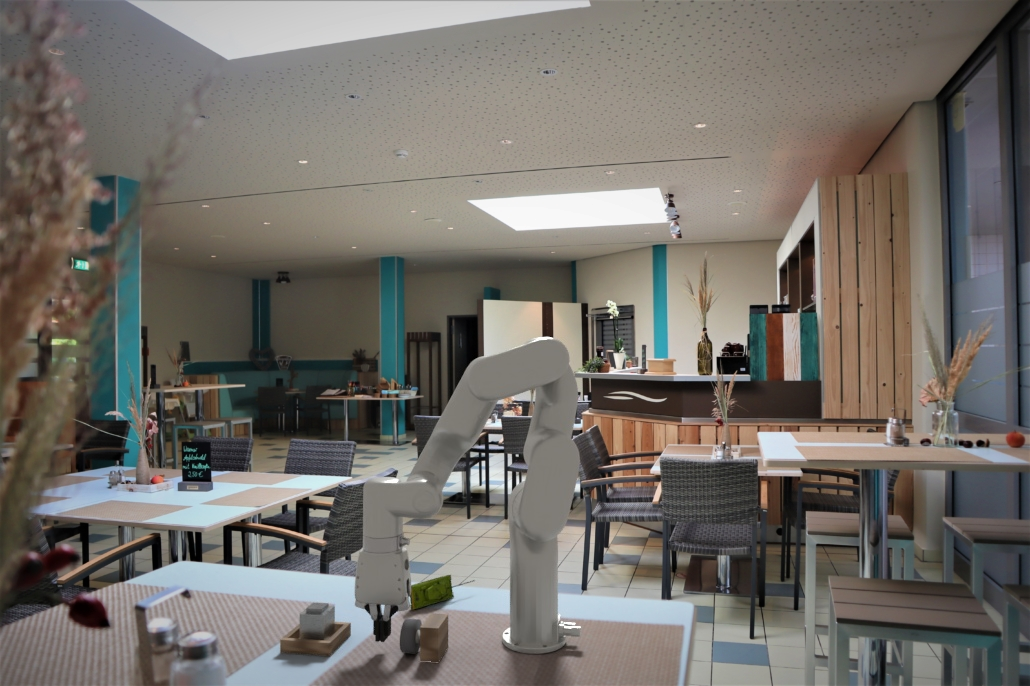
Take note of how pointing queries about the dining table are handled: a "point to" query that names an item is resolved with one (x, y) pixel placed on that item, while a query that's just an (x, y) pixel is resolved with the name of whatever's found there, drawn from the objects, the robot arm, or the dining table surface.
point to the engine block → (317, 622)
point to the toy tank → (431, 591)
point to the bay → (315, 642)
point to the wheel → (410, 636)
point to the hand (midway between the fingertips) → (382, 638)
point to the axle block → (434, 637)
